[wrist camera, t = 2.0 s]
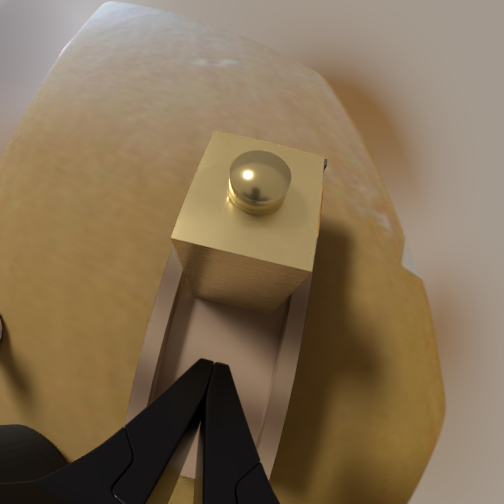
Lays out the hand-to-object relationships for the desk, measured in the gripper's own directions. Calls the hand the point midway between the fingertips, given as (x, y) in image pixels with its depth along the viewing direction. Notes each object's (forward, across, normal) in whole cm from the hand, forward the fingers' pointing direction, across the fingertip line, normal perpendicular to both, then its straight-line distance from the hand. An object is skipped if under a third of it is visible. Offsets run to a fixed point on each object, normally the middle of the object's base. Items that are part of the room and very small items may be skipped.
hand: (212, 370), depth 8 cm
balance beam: (+11, 0, +6) cm, 12 cm away
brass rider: (+10, 0, +1) cm, 10 cm away
